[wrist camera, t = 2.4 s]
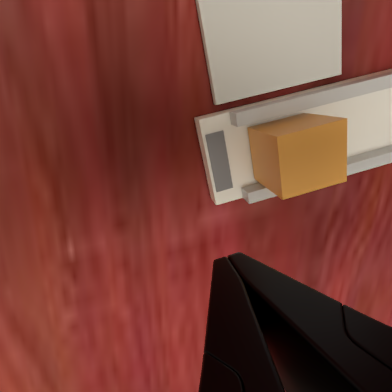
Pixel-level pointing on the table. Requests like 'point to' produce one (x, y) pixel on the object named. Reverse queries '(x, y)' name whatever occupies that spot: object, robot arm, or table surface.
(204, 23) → the tool mat
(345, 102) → the switch panel
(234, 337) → the robot arm
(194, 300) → the table surface
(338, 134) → the orange cube
